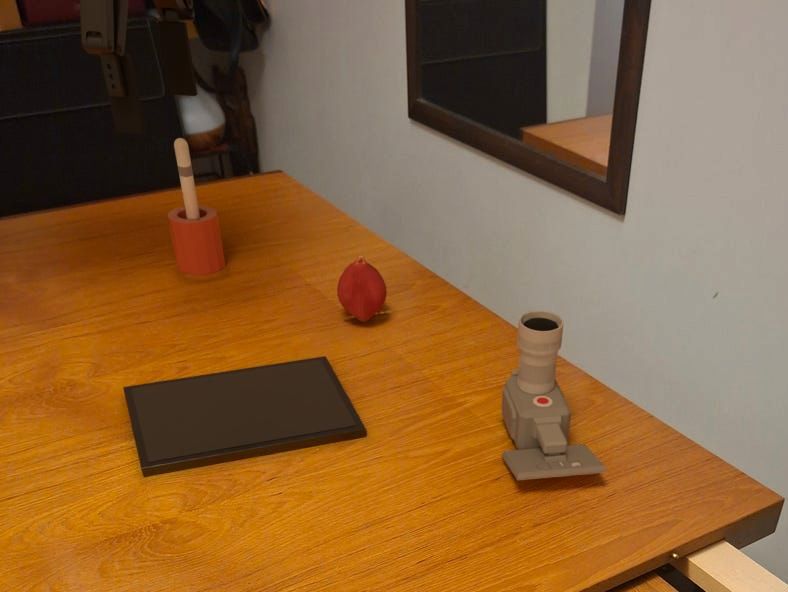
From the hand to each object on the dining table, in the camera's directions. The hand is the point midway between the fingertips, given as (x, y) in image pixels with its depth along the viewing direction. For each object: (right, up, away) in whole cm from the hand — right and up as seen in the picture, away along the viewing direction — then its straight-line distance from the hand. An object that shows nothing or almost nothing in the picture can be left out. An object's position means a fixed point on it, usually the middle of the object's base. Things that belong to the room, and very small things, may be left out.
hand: (159, 112), depth 92 cm
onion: (+19, -15, +18) cm, 30 cm away
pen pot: (-4, -5, +27) cm, 28 cm away
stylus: (-4, -4, +27) cm, 27 cm away
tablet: (+8, -31, +2) cm, 32 cm away
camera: (+39, -35, -1) cm, 52 cm away
